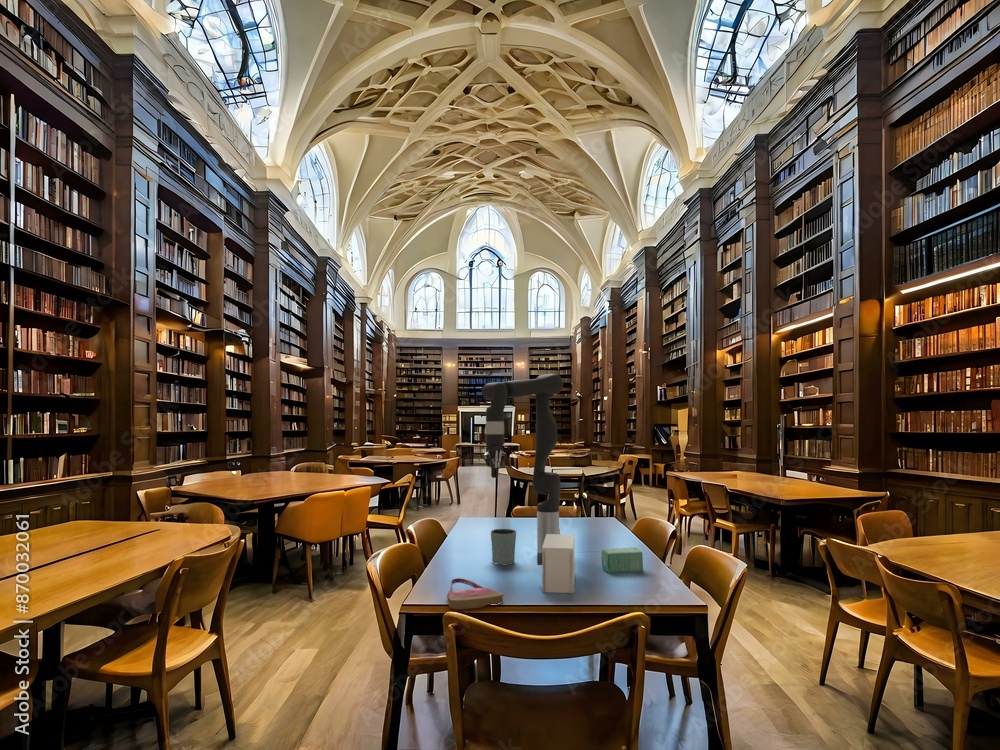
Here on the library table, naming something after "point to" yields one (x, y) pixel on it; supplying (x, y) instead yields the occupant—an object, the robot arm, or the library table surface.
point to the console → (558, 563)
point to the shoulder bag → (473, 596)
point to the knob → (539, 558)
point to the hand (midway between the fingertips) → (494, 477)
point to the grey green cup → (503, 545)
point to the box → (622, 560)
